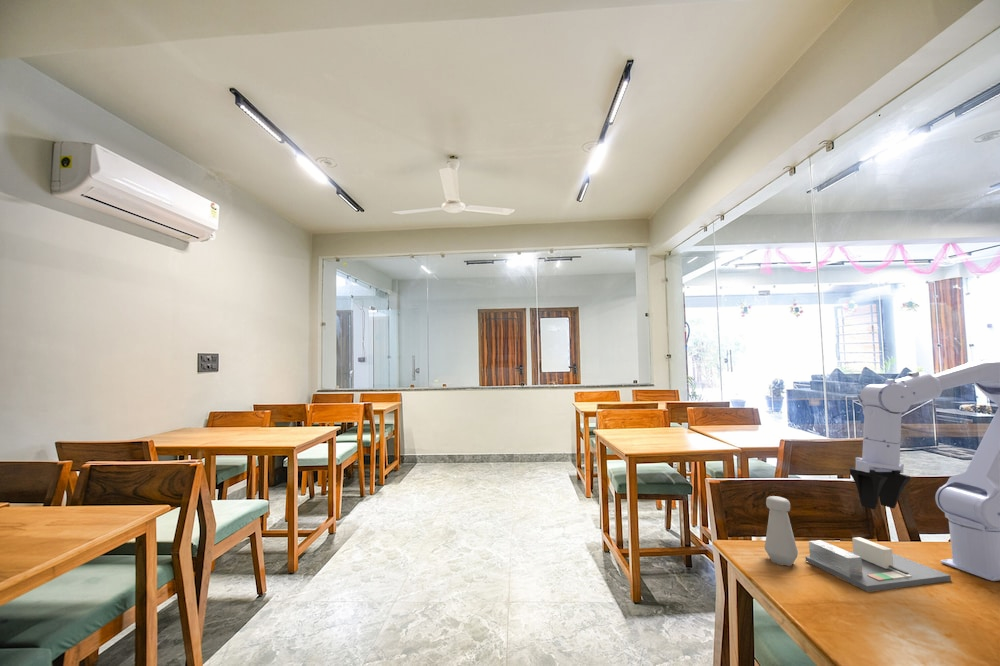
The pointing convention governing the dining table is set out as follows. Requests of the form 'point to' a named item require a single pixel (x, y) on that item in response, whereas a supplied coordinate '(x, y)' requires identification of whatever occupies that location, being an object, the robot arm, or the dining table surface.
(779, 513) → the salt shaker
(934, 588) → the dining table surface
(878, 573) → the base
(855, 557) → the grey block
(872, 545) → the white rectangular bar
